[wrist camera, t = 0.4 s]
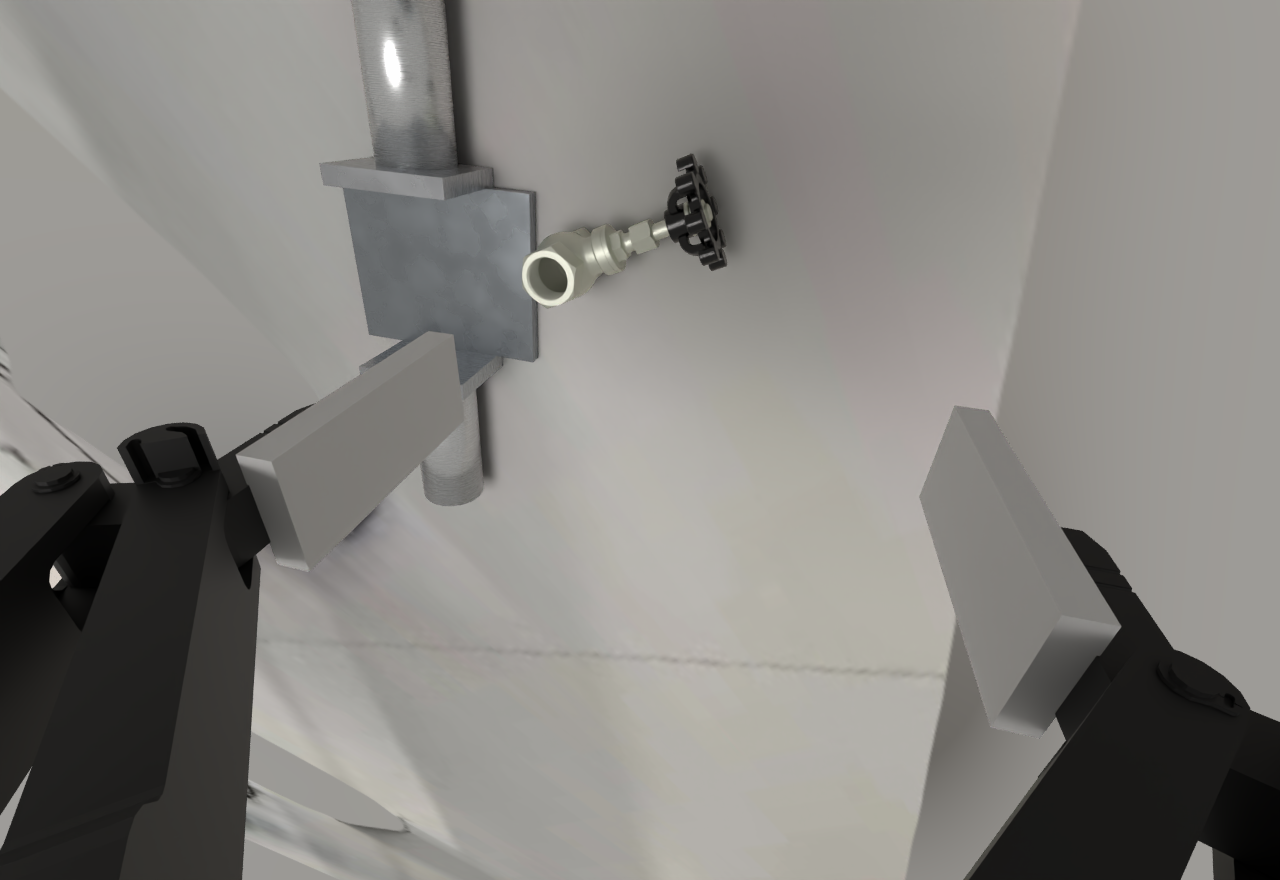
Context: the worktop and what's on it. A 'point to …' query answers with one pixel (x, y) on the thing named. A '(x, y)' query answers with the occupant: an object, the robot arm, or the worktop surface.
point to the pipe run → (433, 227)
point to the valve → (625, 243)
